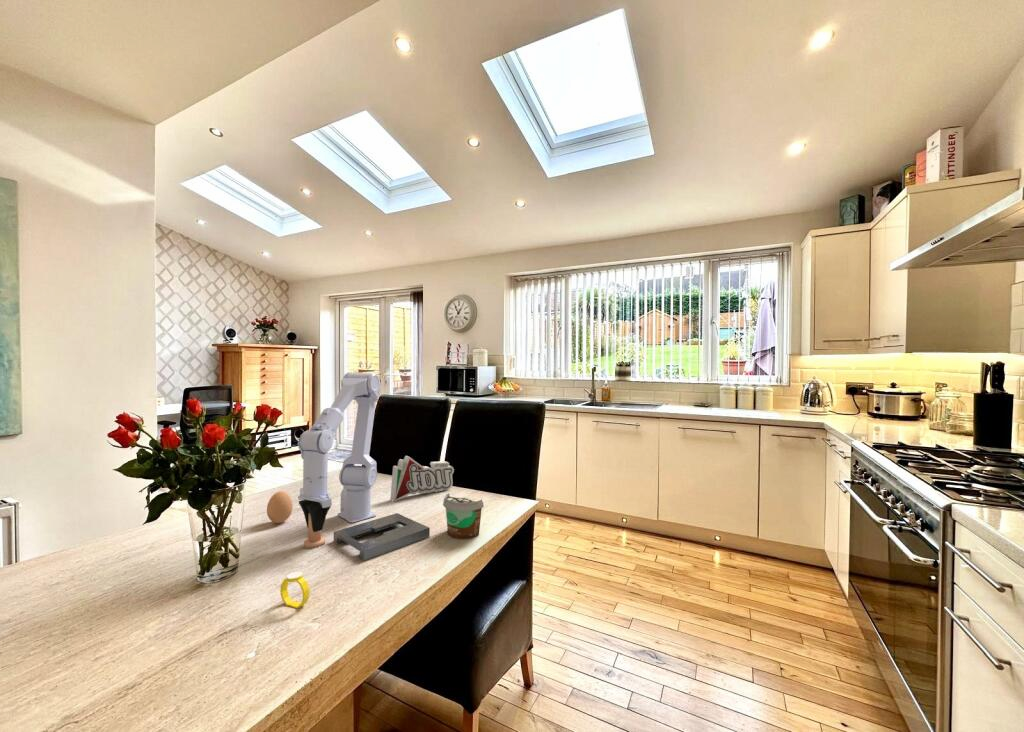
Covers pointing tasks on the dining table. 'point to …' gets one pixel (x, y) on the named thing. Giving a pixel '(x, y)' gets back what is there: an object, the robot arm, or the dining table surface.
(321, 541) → the peg
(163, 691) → the dining table surface
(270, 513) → the egg
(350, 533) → the keyhole plate
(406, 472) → the decorative sign
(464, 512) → the food container
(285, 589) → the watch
